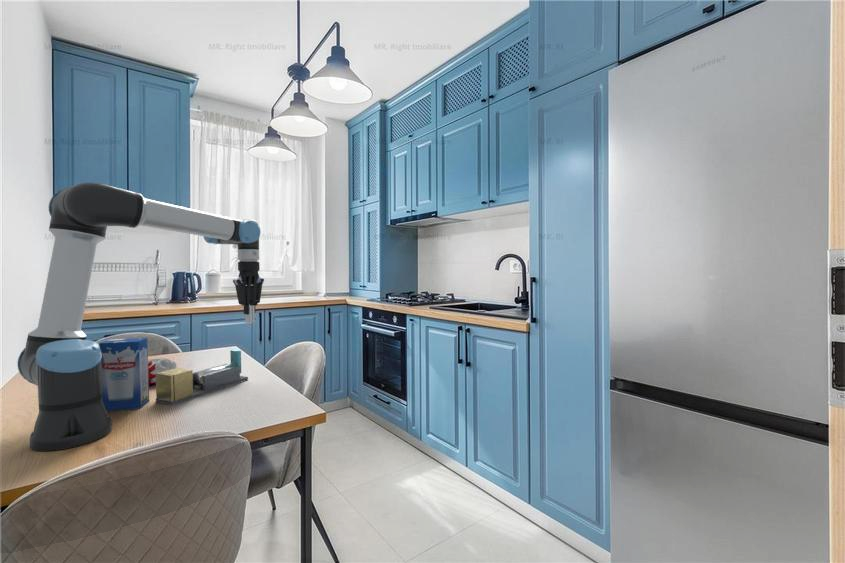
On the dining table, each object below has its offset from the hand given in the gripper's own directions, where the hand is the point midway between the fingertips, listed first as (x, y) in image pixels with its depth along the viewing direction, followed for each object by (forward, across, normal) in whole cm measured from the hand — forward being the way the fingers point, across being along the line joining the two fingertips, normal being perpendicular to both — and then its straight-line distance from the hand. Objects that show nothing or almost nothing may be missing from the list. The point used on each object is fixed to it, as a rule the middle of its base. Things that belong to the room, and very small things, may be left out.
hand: (249, 322), depth 150 cm
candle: (+21, -23, +24) cm, 39 cm away
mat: (+20, -18, 0) cm, 27 cm away
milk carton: (+21, -39, +8) cm, 45 cm away
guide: (+19, -21, 0) cm, 29 cm away
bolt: (+18, -14, 0) cm, 23 cm away
